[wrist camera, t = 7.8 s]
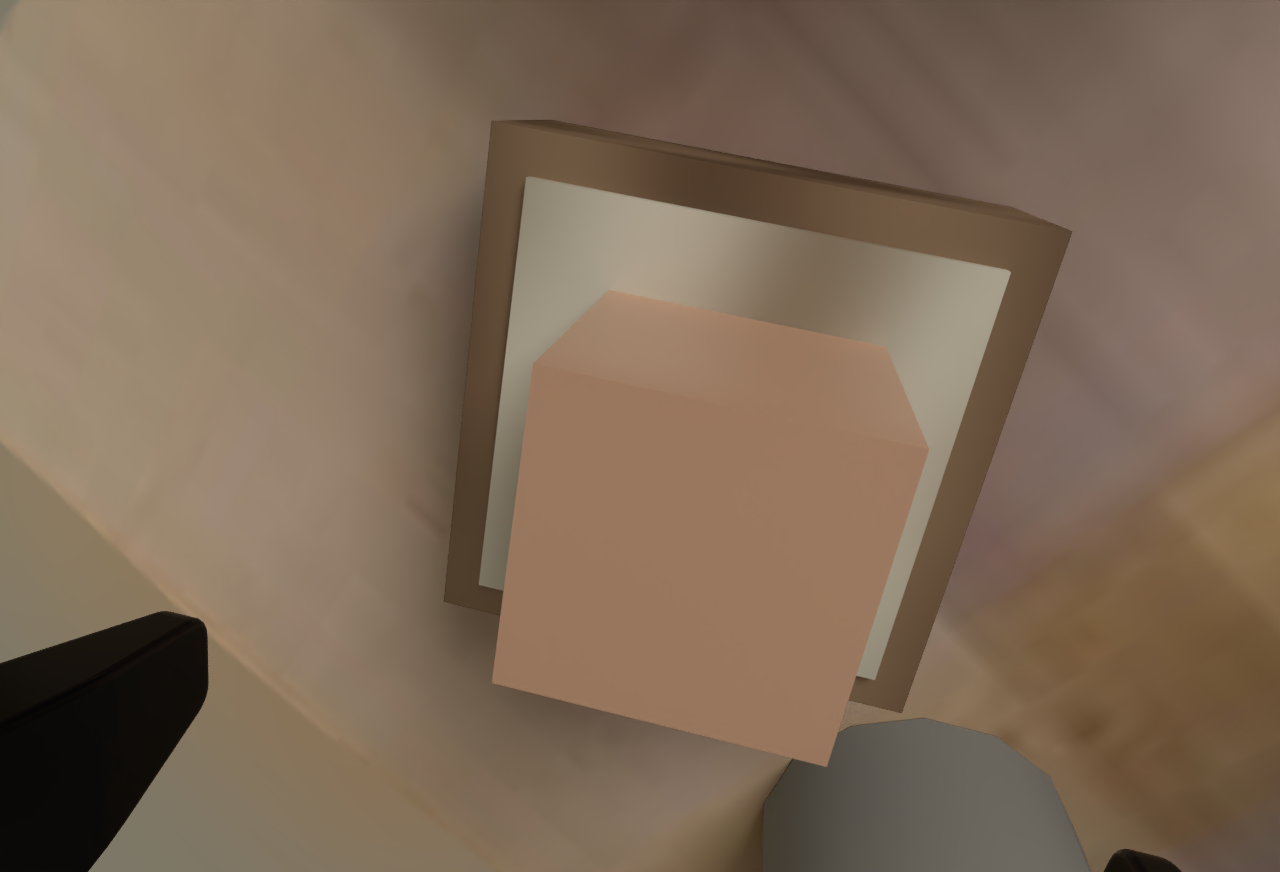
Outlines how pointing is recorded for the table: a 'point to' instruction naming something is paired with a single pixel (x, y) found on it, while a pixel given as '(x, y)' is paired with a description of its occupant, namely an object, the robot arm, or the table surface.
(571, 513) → the cube
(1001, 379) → the pedestal
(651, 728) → the table surface
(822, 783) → the cup
